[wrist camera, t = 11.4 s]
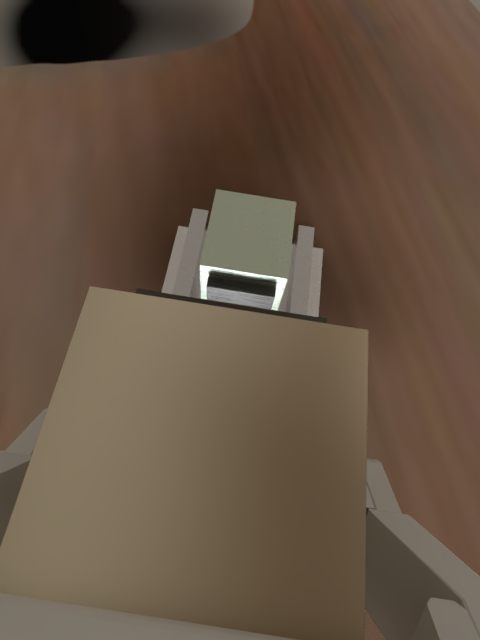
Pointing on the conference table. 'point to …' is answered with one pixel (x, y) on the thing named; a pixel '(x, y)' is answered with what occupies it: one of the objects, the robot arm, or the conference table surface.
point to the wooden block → (201, 469)
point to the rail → (247, 256)
